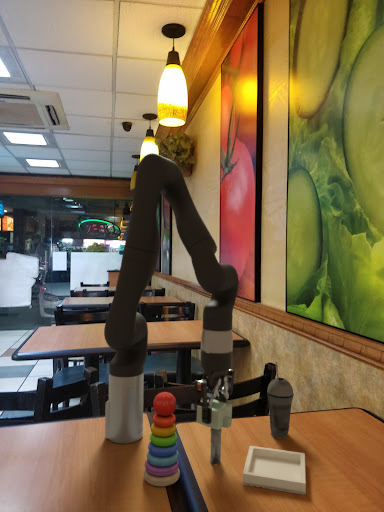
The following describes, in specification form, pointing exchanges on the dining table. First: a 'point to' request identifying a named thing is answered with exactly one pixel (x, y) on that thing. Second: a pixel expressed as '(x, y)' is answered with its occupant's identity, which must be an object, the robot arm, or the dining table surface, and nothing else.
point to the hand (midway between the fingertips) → (214, 418)
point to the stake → (215, 446)
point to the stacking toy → (162, 443)
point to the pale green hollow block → (217, 415)
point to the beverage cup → (279, 405)
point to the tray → (275, 470)
